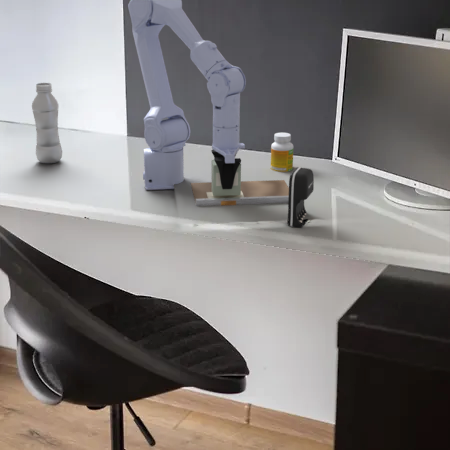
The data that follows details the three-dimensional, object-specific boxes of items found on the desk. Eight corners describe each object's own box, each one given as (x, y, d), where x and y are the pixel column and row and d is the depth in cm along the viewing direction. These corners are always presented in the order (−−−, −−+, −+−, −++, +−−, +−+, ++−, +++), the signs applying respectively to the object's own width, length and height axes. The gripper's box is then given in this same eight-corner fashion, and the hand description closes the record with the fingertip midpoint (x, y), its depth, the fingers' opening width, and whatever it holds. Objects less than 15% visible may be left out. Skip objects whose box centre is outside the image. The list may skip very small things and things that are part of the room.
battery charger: (304, 229, 168) (307, 176, 164) (286, 227, 170) (288, 174, 165) (313, 218, 175) (315, 166, 170) (295, 215, 176) (298, 164, 171)
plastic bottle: (68, 161, 210) (63, 83, 203) (49, 168, 205) (43, 88, 198) (49, 157, 214) (43, 80, 206) (30, 163, 208) (24, 85, 201)
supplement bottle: (290, 177, 200) (292, 138, 196) (268, 175, 201) (269, 136, 197) (293, 170, 205) (295, 132, 201) (272, 168, 206) (273, 130, 202)
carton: (240, 195, 181) (241, 164, 178) (213, 196, 180) (213, 165, 178) (238, 188, 185) (238, 158, 182) (211, 189, 184) (211, 159, 182)
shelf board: (196, 211, 178) (196, 200, 177) (190, 187, 192) (190, 178, 191) (296, 207, 180) (297, 197, 179) (284, 184, 194) (284, 175, 193)
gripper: (249, 133, 171) (248, 195, 176) (240, 116, 184) (239, 174, 189) (215, 134, 170) (215, 196, 175) (208, 116, 183) (208, 175, 188)
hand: (225, 185), depth 182 cm, fingers closed on carton, 4 cm apart
